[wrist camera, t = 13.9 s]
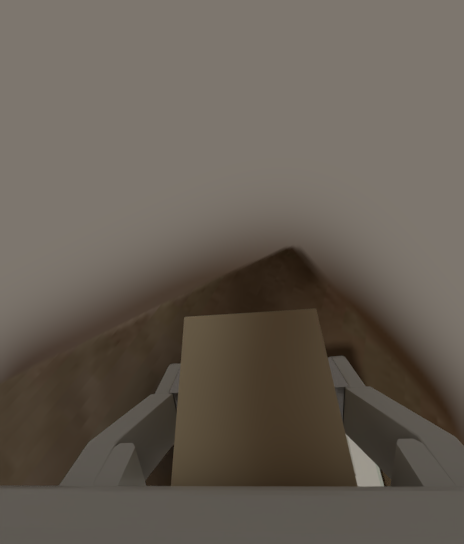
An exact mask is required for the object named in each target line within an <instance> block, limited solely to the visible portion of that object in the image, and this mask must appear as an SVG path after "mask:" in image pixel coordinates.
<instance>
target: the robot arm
mask: <svg viewBox="0 0 464 544" xmlns="http://www.w3.org/2000/svg"><path fill="white" fill-rule="evenodd" d="M328 361H329V366H330V370H331V374H332V379H333V383H334V387H335V391H336V396H337V400H338V404H339V409H340V413H341V417H342V421H343V426H344V430H345V434H346V435H347V436H348V437H349V438H350V439H351V440H352V441H353V442H354V443H355V444H356V445H357V446H358V447H359V448H360V449H361V450H362V451H363V452H364V453H365V454H366V455H367V456H368V457H369V458H370V459H371V460H372V461H373V462H374V463H375V464H376V465H377V466H378V467H379V468H380V469H381V470H382V471H383V472H384V473H385V474H386V475H387V476H388V477H389V478H390V479H391V486H146V483H145V480H146V479H147V478H148V476H149V475H150V474H151V473H152V471H153V470H154V469H155V467H156V466H157V465H158V464H159V462H160V461H161V460H162V458H163V457H164V456H165V455H166V453H167V452H168V451H169V449H170V448H171V447H172V446H173V444H174V440H175V428H176V416H177V403H178V391H179V378H180V366H181V363H180V364H170V365H169V366H168V368H167V370H166V372H165V374H164V376H163V378H162V380H161V382H160V384H159V386H158V388H157V390H156V392H155V394H151V395H149V396H148V397H147V398H146V399H144V400H143V401H142V402H140V403H139V404H138V405H136V406H135V407H134V408H133V409H131V410H130V411H129V412H127V413H126V414H125V415H123V416H122V417H121V418H120V419H118V420H117V421H116V422H114V423H113V424H112V425H110V426H109V427H108V428H107V429H105V430H104V431H103V432H101V433H100V434H99V435H97V436H96V437H95V438H94V439H92V440H91V441H90V442H89V443H88V444H87V445H86V447H85V448H84V450H83V451H82V453H81V454H80V456H79V457H78V459H77V460H76V462H75V463H74V465H73V466H72V467H71V469H70V470H69V472H68V473H67V475H66V476H65V478H64V479H63V481H62V482H61V484H60V485H59V486H0V544H464V446H463V445H462V444H461V442H460V441H459V440H458V439H457V438H456V437H455V436H453V435H451V434H450V433H448V432H446V431H444V430H443V429H441V428H439V427H438V426H436V425H434V424H433V423H431V422H429V421H428V420H426V419H424V418H422V417H421V416H419V415H417V414H416V413H414V412H412V411H411V410H409V409H407V408H406V407H404V406H402V405H400V404H399V403H397V402H395V401H394V400H392V399H390V398H389V397H387V396H385V395H384V394H382V393H380V392H378V391H377V390H375V389H373V388H372V387H366V386H365V385H364V383H363V382H362V380H361V379H360V378H359V376H358V375H357V373H356V372H355V370H354V369H353V368H352V366H351V365H350V363H349V362H348V360H347V359H346V358H345V357H344V356H331V357H328Z"/></svg>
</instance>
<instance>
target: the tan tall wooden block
mask: <svg viewBox="0 0 464 544" xmlns="http://www.w3.org/2000/svg"><path fill="white" fill-rule="evenodd" d="M171 486H357V481H356V477H355V473H354V468H353V464H352V460H351V456H350V451H349V447H348V443H347V438H346V434H345V430H344V426H343V421H342V417H341V413H340V409H339V404H338V400H337V396H336V391H335V387H334V383H333V379H332V374H331V370H330V366H329V361H328V357H327V353H326V349H325V344H324V340H323V336H322V332H321V327H320V323H319V319H318V314H317V310H316V308H314V309H299V310H283V311H268V312H253V313H238V314H223V315H207V316H192V317H184V329H183V341H182V353H181V366H180V378H179V391H178V403H177V416H176V428H175V440H174V453H173V465H172V478H171Z"/></svg>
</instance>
